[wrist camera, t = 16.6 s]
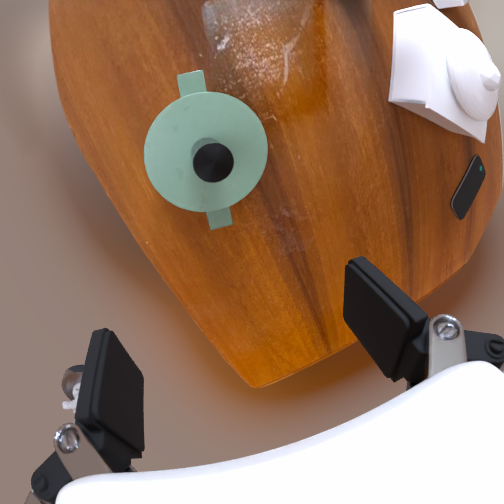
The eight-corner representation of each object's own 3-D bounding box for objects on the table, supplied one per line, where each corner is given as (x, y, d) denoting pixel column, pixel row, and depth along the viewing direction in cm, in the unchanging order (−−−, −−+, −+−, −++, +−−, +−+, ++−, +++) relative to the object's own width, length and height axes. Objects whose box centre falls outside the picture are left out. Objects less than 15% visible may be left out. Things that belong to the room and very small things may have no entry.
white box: (454, 54, 29) (519, 59, 16) (449, 133, 37) (516, 154, 24) (392, 11, 25) (467, -4, 11) (387, 104, 33) (471, 115, 19)
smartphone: (486, 173, 43) (461, 222, 47) (484, 172, 44) (458, 221, 48) (478, 152, 40) (451, 204, 44) (475, 151, 40) (448, 203, 45)
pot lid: (162, 221, 26) (157, 255, 20) (133, 110, 20) (114, 107, 14) (272, 193, 27) (299, 218, 21) (254, 84, 22) (280, 72, 15)
